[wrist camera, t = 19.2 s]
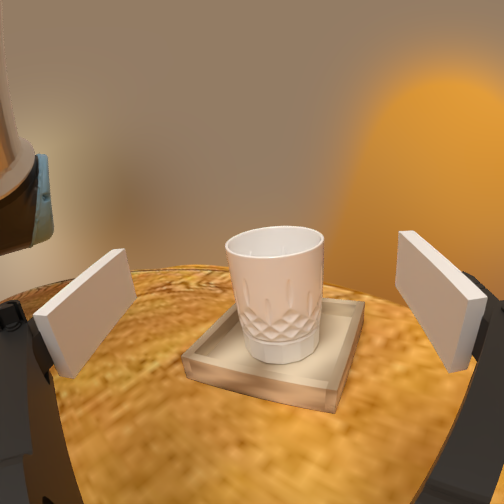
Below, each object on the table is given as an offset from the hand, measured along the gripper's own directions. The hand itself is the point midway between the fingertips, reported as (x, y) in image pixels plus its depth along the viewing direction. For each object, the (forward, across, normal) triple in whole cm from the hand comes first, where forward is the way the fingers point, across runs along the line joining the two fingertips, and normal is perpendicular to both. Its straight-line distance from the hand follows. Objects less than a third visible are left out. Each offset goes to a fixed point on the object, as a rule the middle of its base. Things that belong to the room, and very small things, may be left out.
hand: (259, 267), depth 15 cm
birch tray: (+11, 0, -13) cm, 17 cm away
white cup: (+11, 0, -12) cm, 17 cm away
